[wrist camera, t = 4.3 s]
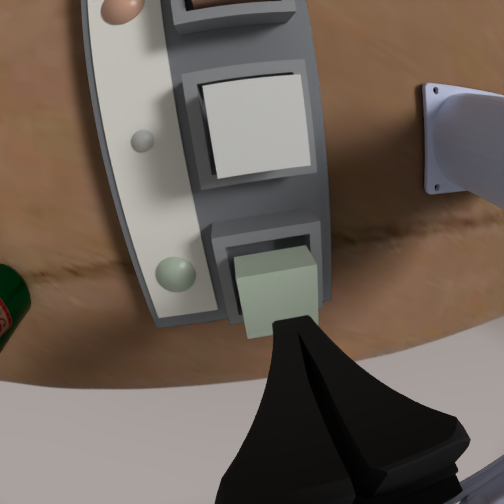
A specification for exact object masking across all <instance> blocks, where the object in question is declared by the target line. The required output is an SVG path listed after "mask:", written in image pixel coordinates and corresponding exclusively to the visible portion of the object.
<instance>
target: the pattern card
mask: <svg viewBox="0 0 504 504" xmlns="http://www.w3.org/2000/svg"><path fill="white" fill-rule="evenodd" d="M88 15H89V28H90V39H91V49H92V57H93V65H94V73H95V80H96V86H97V93H98V99H99V105H100V110H101V116H102V121H103V127H104V132H105V136H106V141H107V146H108V151H109V155H110V160H111V164H112V168H113V172H114V176H115V181H116V185H117V188H118V192H119V196H120V200H121V204H122V207H123V211H124V215H125V218H126V222H127V225H128V228H129V232H130V235H131V238H132V242H133V245H134V248H135V251H136V255H137V258H138V261H139V264H140V267H141V270H142V273H143V276H144V279H145V282H146V285H147V287H148V290H149V293H150V296H151V299H152V301H153V304H154V307H155V310H156V312H157V315H158V317H159V318H163V317H171V316H178V315H185V314H192V313H199V312H206V311H213V310H218V306H217V302H216V298H215V293H214V289H213V285H212V281H211V277H210V272H209V268H208V264H207V259H206V255H205V251H204V246H203V242H202V237H201V233H200V228H199V223H198V219H197V214H196V209H195V204H194V200H193V195H192V190H191V185H190V180H189V175H188V170H187V165H186V159H185V154H184V149H183V143H182V138H181V132H180V127H179V121H178V115H177V110H176V104H175V98H174V92H173V85H172V79H171V73H170V66H169V60H168V53H167V46H166V39H165V31H164V24H163V16H162V8H161V0H88Z"/></svg>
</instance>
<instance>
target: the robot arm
mask: <svg viewBox="0 0 504 504" xmlns="http://www.w3.org/2000/svg"><path fill="white" fill-rule="evenodd" d="M433 88H435V90H436V91H435V93H434V91H433ZM422 94H423V108H424V129H425V180H424V189H425V192H427V193H428V194H431V195H432V194H441V193H450V192H459V191H469V192H471V193H473V194H475V195H477V196H479V197H481V198H483V199H485V200H487V201H489V202H491V203H493V204H494V205H496V206H498V207H500V208H502V209H504V95H500V94H495V93H491V92H486V91H481V90H475V89H470V88H464V87H457V86H451V85H443V84H435V83H425V84H423V86H422ZM436 184H437V187H436V189H435V185H436ZM272 329H273V351H272V359H271V365H270V370H269V374H268V379H267V384H266V387H265V390H264V394H263V397H262V400H261V403H260V406H259V409H258V411H257V414H256V416H255V419H254V421H253V424H252V426H251V428H250V430H249V433H248V434H247V436H246V438H245V440H244V442H243V444H242V446H241V448H240V450H239V452H238V453H237V455H236V457H235V459H234V460H233V462H232V464H231V465H230V466H229V468H228V469H227V471H226V473H225V474H224V476H223V477H222V479H221V482H220V486H219V489H218V492H217V496H216V500H215V504H455V503H457V502H459V501H461V502H460V503H459V504H504V455H502V456H501V457H500V458H498V459H497V460H495V461H494V462H492V463H491V464H489V465H488V466H486V467H484V468H483V469H481V470H480V471H478V472H476V473H475V474H473V475H472V476H470V477H468V478H466V479H465V480H463V481H461V482H459V481H458V479H457V476H456V473H457V472H458V468H457V466H456V464H455V462H456V461H457V459H458V458H459V457H460V456H461V455H462V454H463V453H464V452H465V450H466V449H467V448H468V446H469V443H470V438H469V436H468V434H467V432H466V430H465V429H464V427H463V426H462V424H461V423H460V422H459V421H458V419H457V418H456V417H454V416H451V415H448V414H446V413H442V412H440V411H437V410H434V409H431V408H429V407H426V406H424V405H422V404H420V403H418V402H415V401H413V400H411V399H409V398H408V397H406V396H404V395H402V394H400V393H398V392H396V391H395V390H393V389H391V388H390V387H388V386H387V385H385V384H383V383H382V382H380V381H379V380H377V379H376V378H375V377H373V376H372V375H370V374H369V373H368V372H366V371H365V370H364V369H363V368H361V367H360V366H359V365H357V364H356V363H355V362H354V361H353V360H352V359H351V358H349V357H348V356H347V355H346V354H345V353H344V352H343V351H342V350H341V349H340V348H339V347H338V346H337V345H336V344H335V343H334V342H333V341H332V340H331V339H330V338H329V337H328V336H327V335H326V334H325V333H324V332H323V331H322V330H321V328H320V327H319V326H318V325H317V324H316V323H315V321H314V320H313V319H312V318H311V317H310V316H309V315H304V316H299V317H294V318H288V319H282V320H277V321H274V322H273V323H272Z"/></svg>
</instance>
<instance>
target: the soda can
mask: <svg viewBox="0 0 504 504" xmlns="http://www.w3.org/2000/svg"><path fill="white" fill-rule="evenodd" d="M30 305H31V299H30V293H29V290H28V287H27V284H26V282H25V281H24V279H23V278H22V276H21V275H20V274H19V273H18V272H17V271H16V270H15V269H13V268H12V267H9V266H7V265H4V264H0V353H1V351H2V350H3V348H4V347H5V345H6V344H7V342H8V340H9V339H10V337H11V336H12V334H13V333H14V331H15V330H16V328H17V327H18V325H19V324H20V322H21V321H22V319H23V318H24V317H25V315H26V314H27V312H28V311H29V309H30Z"/></svg>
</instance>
